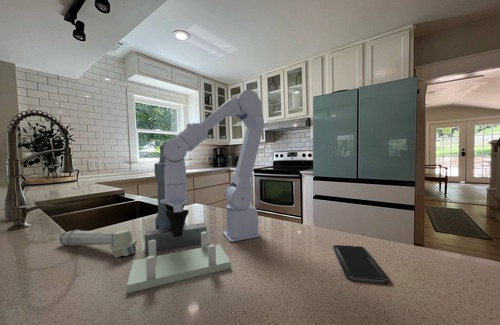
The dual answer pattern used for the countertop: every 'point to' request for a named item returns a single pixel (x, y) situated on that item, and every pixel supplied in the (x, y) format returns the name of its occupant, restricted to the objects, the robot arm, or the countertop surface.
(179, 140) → the robot arm
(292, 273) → the countertop surface
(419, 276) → the countertop surface
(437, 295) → the countertop surface
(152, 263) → the peg rack
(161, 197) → the bottle
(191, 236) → the steel bar
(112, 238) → the pale grey handled tool
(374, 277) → the phone
